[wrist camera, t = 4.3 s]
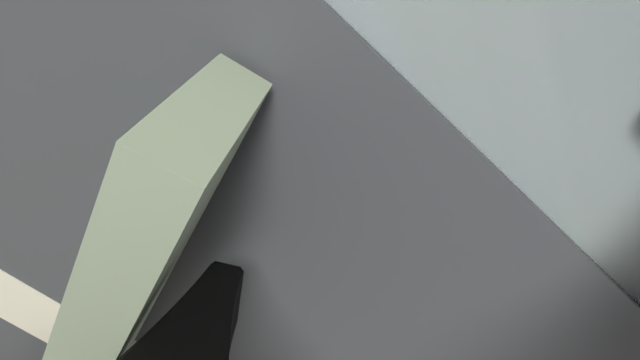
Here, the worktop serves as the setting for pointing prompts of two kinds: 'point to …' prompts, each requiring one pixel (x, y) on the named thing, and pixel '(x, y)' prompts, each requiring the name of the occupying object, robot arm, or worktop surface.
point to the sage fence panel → (152, 208)
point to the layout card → (289, 193)
